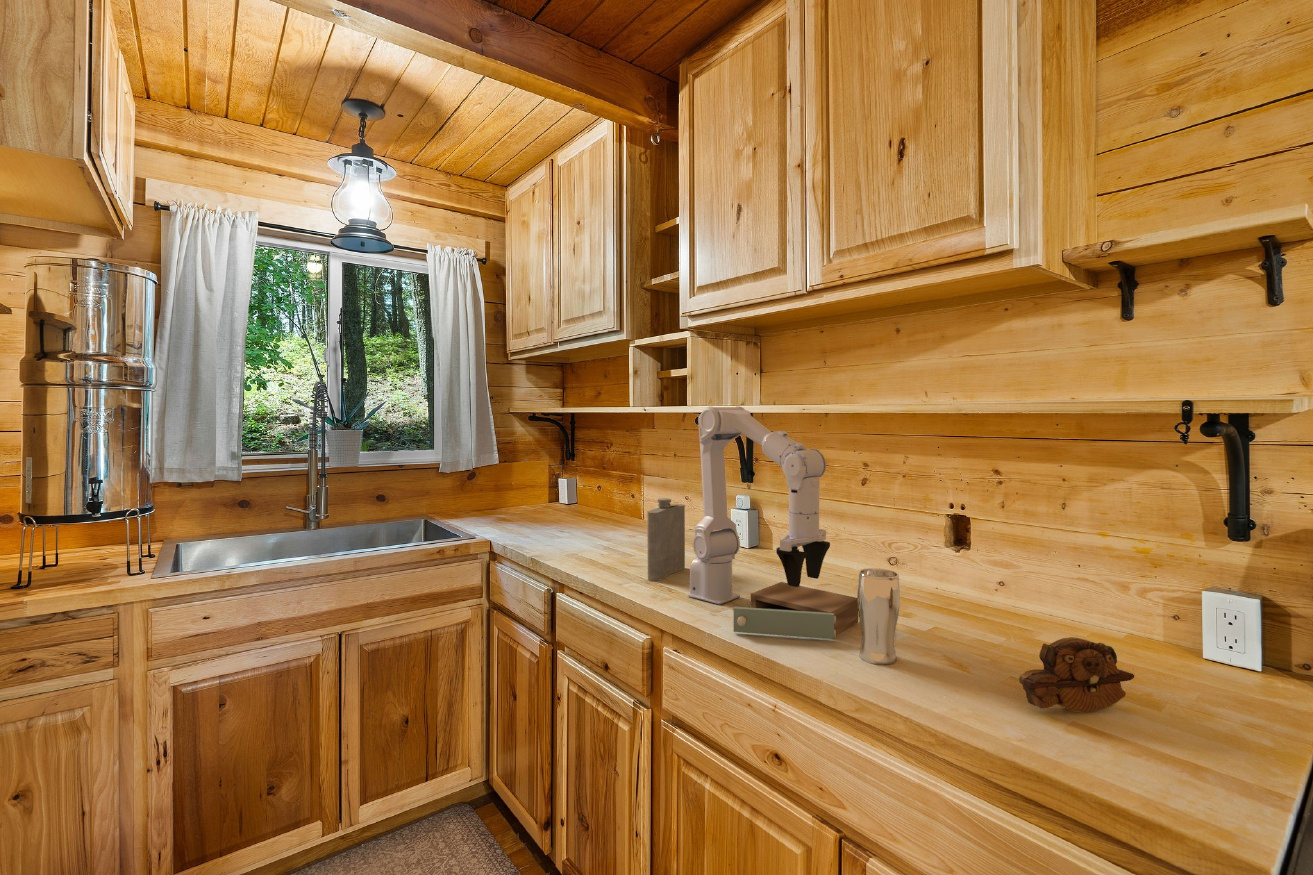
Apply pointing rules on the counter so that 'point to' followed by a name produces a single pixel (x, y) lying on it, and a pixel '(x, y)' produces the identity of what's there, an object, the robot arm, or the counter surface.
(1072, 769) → the counter surface
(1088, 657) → the wooden carving
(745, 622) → the cabinet door
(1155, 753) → the counter surface
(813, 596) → the cabinet
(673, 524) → the hip flask
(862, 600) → the beer glass
